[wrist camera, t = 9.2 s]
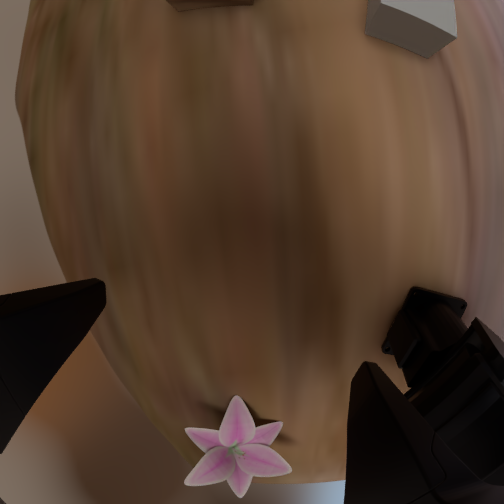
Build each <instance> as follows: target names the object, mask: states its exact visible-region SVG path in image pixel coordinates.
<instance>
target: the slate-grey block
mask: <svg viewBox="0 0 504 504" xmlns="http://www.w3.org/2000/svg"><path fill="white" fill-rule="evenodd" d="M365 34H366V35H369V36H372V37H375V38H378V39H381V40H384V41H387V42H389V43H392V44H395V45H397V46H400V47H402V48H405V49H407V50H409V51H412V52H414V53H416V54H418V55H421V56H423V57H425V58H427V59H428V58H429V57H430V56H432V55H433V54H435V53H436V52H437V51H439V50H440V49H442V48H443V47H445V46H446V45H448V44H449V43H450V42H452V41H453V40H455V39H456V38H457V26H456V15H455V6H454V0H368V8H367V18H366V27H365Z"/></svg>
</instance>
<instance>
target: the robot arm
mask: <svg viewBox="0 0 504 504" xmlns="http://www.w3.org/2000/svg"><path fill="white" fill-rule="evenodd" d="M415 292H417V294H416V295H414V293H415ZM461 305H462V306H461ZM105 306H106V287H105V283H104V282H103V281H101V280H99V279H97V278H92V279H86V280H81V281H75V282H70V283H65V284H59V285H53V286H48V287H43V288H37V289H32V290H26V291H21V292H16V293H12V294H5V295H0V454H2V453H3V451H4V449H5V448H6V446H7V444H8V443H9V441H10V440H11V437H12V436H13V435H14V433H15V432H16V430H17V428H18V427H19V425H20V424H21V422H22V421H23V419H24V418H25V416H26V415H27V413H28V412H29V410H30V409H31V407H32V406H33V404H34V403H35V401H36V400H37V399H38V397H39V396H40V395H41V393H42V392H43V390H44V389H45V388H46V386H47V385H48V384H49V382H50V381H51V379H52V378H53V377H54V375H55V374H56V373H57V372H58V370H59V369H60V368H61V366H62V365H63V364H64V362H65V361H66V360H67V359H68V357H69V356H70V355H71V354H72V352H73V351H74V350H75V349H76V347H77V346H78V345H79V344H80V342H81V341H82V340H83V339H84V337H85V336H86V334H87V333H88V331H89V330H90V328H91V327H92V325H93V324H94V322H95V321H96V319H97V318H98V317H99V315H100V314H101V312H102V311H103V309H104V308H105ZM466 307H467V302H466V301H465V300H463V299H460V298H456V297H453V296H449V295H445V294H442V293H438V292H434V291H431V290H427V289H423V288H420V287H413V288H412V289H411V290H410V292H409V294H408V296H407V298H406V300H405V303H404V305H403V307H402V309H401V310H400V311H399V312H398V314H397V316H396V318H395V320H394V322H393V324H392V326H391V328H390V330H389V332H388V334H387V338H386V340H385V341H384V343H383V345H382V347H381V348H382V352H383V353H385V354H390V355H394V356H395V359H396V362H397V365H398V368H401V369H402V370H403V373H404V376H405V379H406V382H407V385H408V387H410V388H411V389H410V390H408V391H407V392H406V393H405V394H404V395H403V394H402V392H401V391H400V390H399V389H398V388H397V387H396V385H395V384H394V383H393V382H392V381H391V380H390V379H389V377H388V376H387V375H386V374H385V373H384V372H383V371H382V369H381V368H380V367H379V366H378V365H377V364H376V363H374V362H368V361H365V362H363V363H362V364H361V366H360V368H359V369H358V371H357V372H356V374H355V376H354V377H353V379H352V382H351V389H350V401H349V410H348V420H347V461H346V482H345V496H344V504H504V342H503V341H502V340H501V339H500V338H499V337H498V336H497V335H496V334H495V333H494V332H493V331H492V330H490V329H489V328H488V327H487V326H486V325H485V324H484V323H483V322H481V321H480V320H479V319H478V318H477V317H475V319H474V320H473V321H472V322H471V326H470V327H469V328H467V327H466V325H465V324H464V323H463V321H462V320H461V317H462V315H463V313H464V311H465V309H466ZM387 347H389V348H387ZM386 348H387V349H386ZM0 504H6V503H5V502H4V501H3V500H2V499H1V498H0Z"/></svg>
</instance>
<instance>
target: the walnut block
mask: <svg viewBox="0 0 504 504" xmlns="http://www.w3.org/2000/svg"><path fill="white" fill-rule="evenodd" d="M166 1H167V2H168V3H170V4H171V5H172V6H173V7H174V8H175V9H176V10H177V11H178V12H179V11H185V10H192V9H200V8H209V7H220V6H238V5H253V1H254V0H166Z"/></svg>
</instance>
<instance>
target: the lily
mask: <svg viewBox="0 0 504 504" xmlns="http://www.w3.org/2000/svg"><path fill="white" fill-rule="evenodd" d="M282 426H283V422H281V421H279V422H274V423H269V424H266V425H262V426H259V427H255V423H254V421H253V418H252V416H251V414H250V412H249V410H248V408H247V407H246V405H245V403H244V401H243V400H242V399H241V397H239V396H237V395H235V396H234V397H233V398H232V400H231V402H230V404H229V406H228V409H227V411H226V414H225V416H224V419H223V421H222V424H221V426H220V429H219V431H218V430H212V429H203V428H185V432H186V433H187V435H188V436H189V437H190V438H191V440H192V441H193V442H194V443H195V444H196V445H197V446H198V447H199V448H200V449H201V450H202V451H203V452H205V453H206V454H205V455H204V456H203V457H202V459H201V460H200V461H199V462H198V464H197V465H196V466H195V467H194V469H193V470H192V471H191V472H190V474H189V475H188V476H187V478H186V480H185V481H184V482H185V485H188V486H200V485H201V486H202V485H209V484H214V483H219V482H222V481H224V480H227V482H228V484H229V485H230V487H231V489H232V490H233V491H234V493H235V494H236V495H237V496H238V497H239V498H242V497H243V496H244V495H245V493H246V491H247V490H248V488H249V485H250V483H251V480H252V477H253V476H257V477H273V476H281V475H286V474H289V473H290V472H292V468H291V467H290V465H289V464H288V463H287V462H286V461H285V460H284V459H283V458H282V457H281V456H280V455H279V454H278V453H277V452H276V451H274V450H273V449H271V448H270V447H269V446H270V445H271V444H272V442H273V441H274V440H275V438H276V437H277V435H278V434H279V432H280V430H281V428H282Z"/></svg>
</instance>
